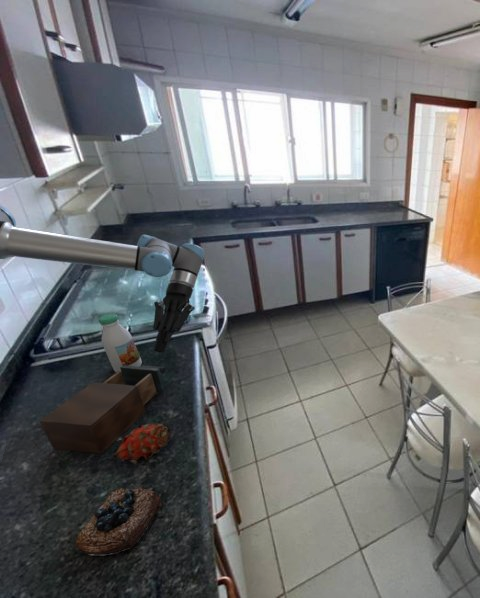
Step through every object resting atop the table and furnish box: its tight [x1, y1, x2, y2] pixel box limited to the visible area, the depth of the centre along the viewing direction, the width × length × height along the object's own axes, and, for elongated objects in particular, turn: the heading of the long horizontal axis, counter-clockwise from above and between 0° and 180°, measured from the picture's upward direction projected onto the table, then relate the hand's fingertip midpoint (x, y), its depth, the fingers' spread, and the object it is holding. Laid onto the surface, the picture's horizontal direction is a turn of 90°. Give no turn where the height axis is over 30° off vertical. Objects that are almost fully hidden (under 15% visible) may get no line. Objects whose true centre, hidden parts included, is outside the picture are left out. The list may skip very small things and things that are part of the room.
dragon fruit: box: [112, 423, 172, 465], centre depth 82 cm, size 8×8×12 cm
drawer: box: [102, 365, 166, 406], centre depth 98 cm, size 18×11×8 cm, turn 177°
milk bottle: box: [98, 313, 143, 373], centre depth 109 cm, size 8×8×20 cm
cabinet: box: [39, 381, 146, 454], centre depth 87 cm, size 15×13×10 cm
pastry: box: [75, 487, 163, 555], centre depth 67 cm, size 11×12×6 cm
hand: (159, 351), depth 108 cm, fingers closed
